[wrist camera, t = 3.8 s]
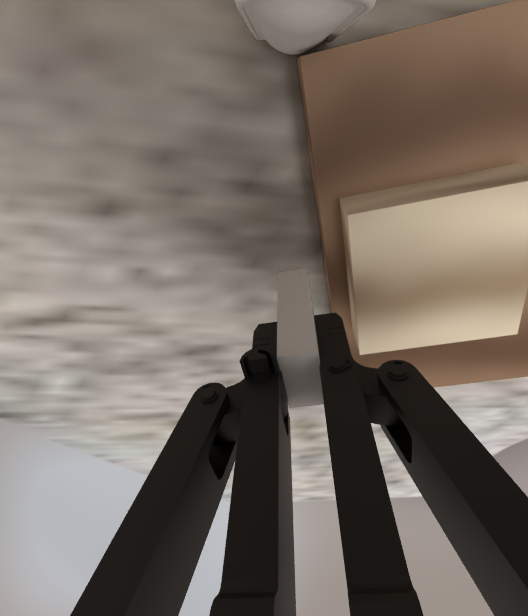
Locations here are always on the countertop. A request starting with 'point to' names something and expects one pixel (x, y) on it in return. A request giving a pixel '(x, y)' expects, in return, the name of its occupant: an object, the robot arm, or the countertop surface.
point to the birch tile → (437, 260)
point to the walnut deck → (419, 146)
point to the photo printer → (300, 21)
